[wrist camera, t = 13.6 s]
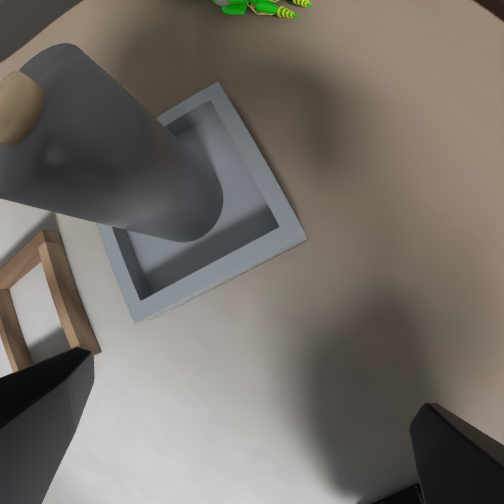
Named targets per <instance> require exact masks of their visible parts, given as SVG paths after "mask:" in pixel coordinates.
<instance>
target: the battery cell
mask: <svg viewBox="0 0 504 504" xmlns="http://www.w3.org/2000/svg"><path fill="white" fill-rule="evenodd" d="M0 198H1V199H5V200H9V201H13V202H17V203H21V204H25V205H28V206H32V207H36V208H40V209H44V210H48V211H52V212H56V213H60V214H64V215H68V216H72V217H76V218H80V219H84V220H88V221H92V222H97V223H101V224H105V225H109V226H113V227H117V228H121V229H125V230H129V231H133V232H137V233H141V234H145V235H149V236H154V237H158V238H162V239H166V240H170V241H174V242H181V243H185V242H191V241H195V240H197V239H199V238H201V237H203V236H204V235H206V234H207V233H208V232H209V231H210V230H211V229H212V228H213V227H214V226H215V224H216V223H217V221H218V219H219V217H220V215H221V212H222V208H223V190H222V187H221V184H220V182H219V180H218V179H217V177H216V176H215V175H214V174H213V173H212V172H211V171H210V170H209V169H208V168H207V167H206V166H205V165H204V164H203V163H202V162H201V161H200V160H199V159H198V158H197V157H196V156H195V155H194V154H193V153H192V152H191V151H190V150H189V149H188V148H186V147H185V146H184V145H183V144H182V143H181V142H180V141H179V140H178V139H177V138H176V137H175V136H174V135H173V134H172V133H171V132H170V131H169V130H168V129H167V128H165V127H164V126H163V125H162V124H161V123H160V122H159V121H158V120H157V119H156V118H155V117H154V116H153V115H152V114H151V113H150V112H148V111H147V110H146V109H145V108H144V107H143V106H142V105H141V104H140V103H139V102H138V101H137V100H136V99H135V98H133V97H132V96H131V95H130V94H129V93H128V92H127V91H126V90H125V89H124V88H123V87H122V86H120V85H119V84H118V83H117V82H116V81H115V80H114V79H113V78H112V77H111V76H110V75H108V74H107V73H106V72H105V71H104V70H103V69H102V68H101V67H100V66H99V65H97V64H96V63H95V62H94V61H93V60H92V59H91V58H90V57H89V56H87V55H86V54H85V53H84V52H83V51H82V50H81V49H80V48H78V47H77V46H75V45H73V44H68V43H63V44H58V45H54V46H52V47H49V48H47V49H45V50H43V51H42V52H40V53H38V54H37V55H36V56H34V57H33V58H32V59H30V60H29V61H28V62H27V63H26V64H25V65H24V66H23V67H22V68H21V69H20V70H19V71H14V72H11V73H10V74H8V75H7V76H6V77H5V78H4V79H3V80H2V81H1V82H0Z"/></svg>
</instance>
